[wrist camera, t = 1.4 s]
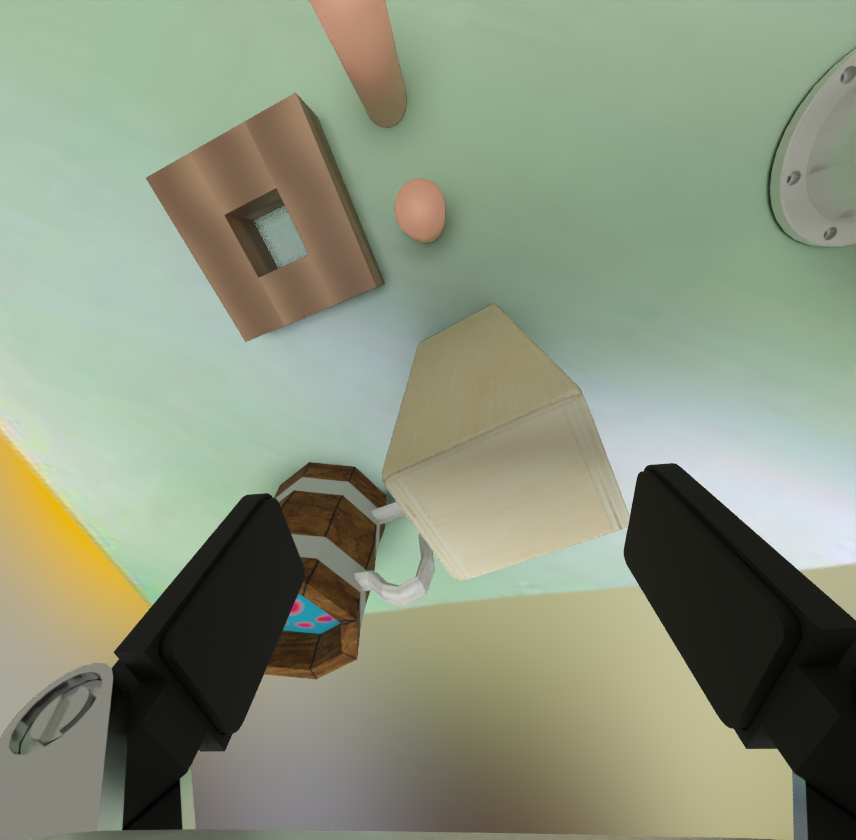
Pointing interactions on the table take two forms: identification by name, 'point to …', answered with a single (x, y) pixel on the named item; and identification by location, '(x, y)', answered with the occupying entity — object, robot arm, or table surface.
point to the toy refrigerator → (497, 451)
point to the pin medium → (420, 210)
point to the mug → (336, 567)
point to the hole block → (258, 195)
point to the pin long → (366, 54)
